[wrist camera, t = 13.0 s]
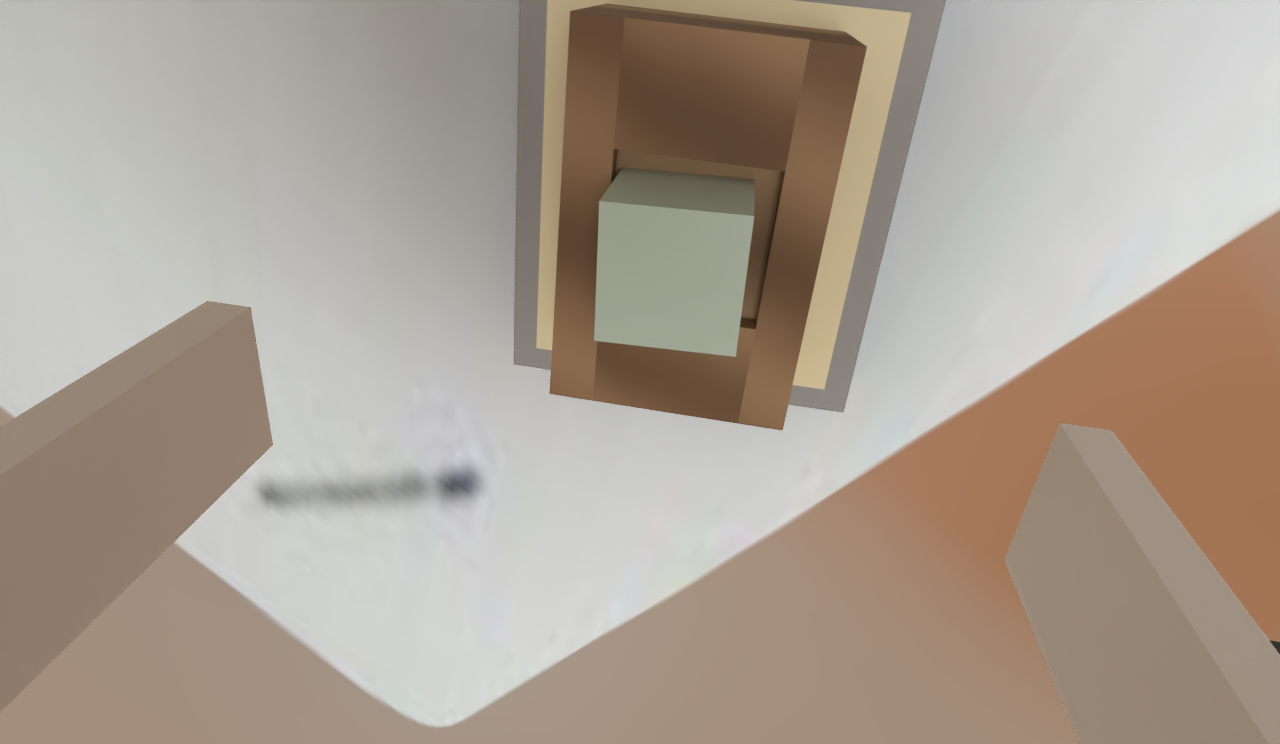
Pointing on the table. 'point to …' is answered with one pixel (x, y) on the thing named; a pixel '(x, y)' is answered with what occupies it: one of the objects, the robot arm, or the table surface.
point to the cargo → (673, 260)
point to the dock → (865, 192)
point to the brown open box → (712, 145)
